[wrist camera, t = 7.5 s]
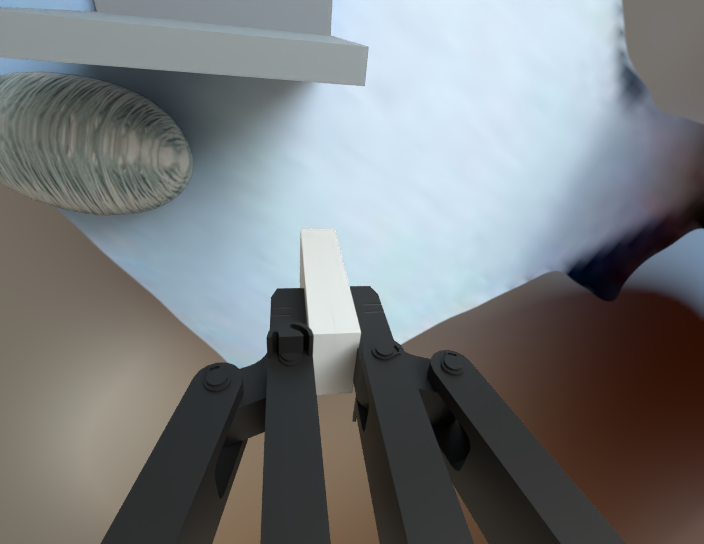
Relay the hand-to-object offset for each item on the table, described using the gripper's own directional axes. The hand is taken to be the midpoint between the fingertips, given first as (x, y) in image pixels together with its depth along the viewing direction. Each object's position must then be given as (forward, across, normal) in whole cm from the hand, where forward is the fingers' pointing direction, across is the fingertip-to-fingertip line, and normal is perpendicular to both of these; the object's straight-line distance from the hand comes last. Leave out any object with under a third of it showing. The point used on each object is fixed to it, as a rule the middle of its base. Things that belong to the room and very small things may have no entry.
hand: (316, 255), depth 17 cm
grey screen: (+20, -6, +9) cm, 23 cm away
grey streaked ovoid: (+20, -15, 0) cm, 25 cm away
